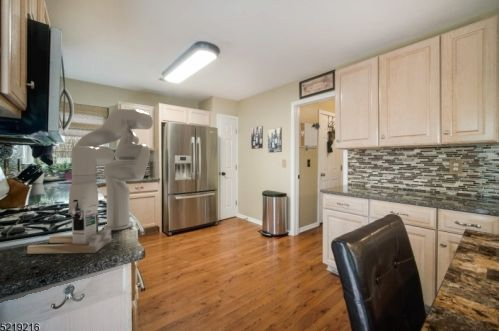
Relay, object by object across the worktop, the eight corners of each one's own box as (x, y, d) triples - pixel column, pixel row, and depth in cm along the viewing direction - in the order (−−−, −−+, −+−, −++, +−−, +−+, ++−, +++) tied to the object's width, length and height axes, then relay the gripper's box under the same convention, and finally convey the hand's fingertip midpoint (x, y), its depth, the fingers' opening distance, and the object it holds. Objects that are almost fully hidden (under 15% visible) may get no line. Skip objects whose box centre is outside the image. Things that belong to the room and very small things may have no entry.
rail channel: (52, 241, 88) (52, 229, 88) (111, 240, 90) (111, 228, 90) (27, 253, 77) (27, 239, 77) (94, 252, 79) (94, 238, 79)
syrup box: (85, 248, 81) (84, 208, 80) (71, 246, 82) (71, 207, 82) (98, 242, 87) (98, 204, 86) (86, 240, 88) (85, 203, 87)
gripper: (88, 177, 92) (89, 220, 92) (55, 182, 74) (56, 235, 75) (108, 177, 92) (108, 220, 93) (79, 182, 75) (80, 235, 76)
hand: (85, 226), depth 84 cm, fingers closed on syrup box, 6 cm apart
